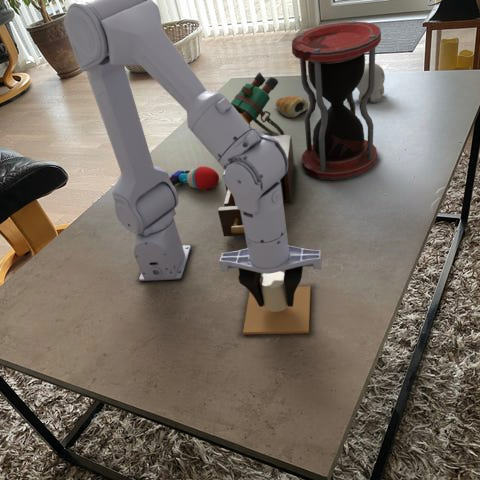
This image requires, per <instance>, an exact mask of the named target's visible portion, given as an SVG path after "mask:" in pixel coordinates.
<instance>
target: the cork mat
mask: <svg viewBox="0 0 480 480" xmlns="http://www.w3.org/2000/svg"><path fill="white" fill-rule="evenodd" d="M311 290H312V289H311V286H310V285H305V286H297V288H296V291H295V294H294V302H293V306H292V307H287V308H286V309H284V310H282V311H279V312H272V311H269V310H267V309H266V308H265V306H263V307H259V305H258V303H257V301H256V299H255V298H254V296H253V295H252V294H251V292H250V291H249V294H248V301H247V306H246V310H245V311H246V313H245V317H244V325H243V330H242V334H243V335H283V334H284V335H289V334H310V316H311V315H310V314H311Z"/></svg>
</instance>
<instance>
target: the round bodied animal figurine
mask: <svg viewBox="0 0 480 480" xmlns="http://www.w3.org/2000/svg"><path fill="white" fill-rule="evenodd" d="M385 79H386V75H385V71H384V69H383V67H382V66H381V65H379V64H378V63H375V83H374V90H373V92H372V94H371V96H370V97H369V98H368V100H367V102H369V100H370V102H371V103H378V102H380V101H381V98H382V96H383V95H384V94H385V86H384V84H385ZM368 85H369V62H368V63H365V69H364V75H363V77H362V79H361V81H360V83H359V84H358V86H357V87H356V88H355V89H357V90H358V92H359V94H358V97H357V98H358V102H359V103H360V102H361V98H362V96H363V95H364V94H365V93H366V91H367V89H368Z"/></svg>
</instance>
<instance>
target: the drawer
mask: <svg viewBox="0 0 480 480" xmlns="http://www.w3.org/2000/svg"><path fill="white" fill-rule="evenodd" d="M278 182H281V189H282V197H283V200H284V185H283V177H282V179H281V180H279V181H278ZM217 212H218V213H217V214H218V218H219V221H220V227H221V229H222V235H223V237H238V236H245V232H244V227H243V222H242V217H241V212H240V210H239V209H238V208H237V206H236V205H235V200H234V197H233V195H232V194H231V192H230V191H229V190H228V191H226V194H225V199H224V202H223V206H218V209H217Z"/></svg>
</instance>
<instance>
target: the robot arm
mask: <svg viewBox="0 0 480 480" xmlns="http://www.w3.org/2000/svg"><path fill="white" fill-rule="evenodd" d="M63 25H64V29H65V32H66V34H67V37H68V41H69V43H70V46H71V49H72V51H73V54H74V57H75V60H76V62H77V65H78V68H79V70H80V72H85V73H86V76H87V79H88V82H89V85H90V88H91V90H92V94H93V96H94V99H95V102H96V105H97V108H98V110H99V114H100V117H101V120H102V122H103V125H104V128H105V130H106V133H107V136H108V139H109V142H110V146H111V148H112V151H113V154H114V157H115V159H116V162H117V165H118V168H119V171H120V175H119V177H118V179H117V181H116V182H115V185H114V187H113V189H112V192H111V193H112V197H113V200H114V212H115V215H116V218H117V219H118V221H119V223H120V224H121V225H122V226H123V227H124V228H125V229H126V230H127V231H128V232H130V233H133V234H135V245H134V249H133V256H134V258H135V260H136V263H137V265H138V268H139V270H140V275H139V277H138V280H139V281H141V282H146V281H147V282H150V281H168V280H180V279H182V277H183V274H184V271H185V267H186V265H187V261H188V258H189V255H190V252H191V249H192V246H191V245H189V244H184V245H183V244H182V240H181V237H180V234H179V231H178V230H179V229H178V227H177V224H176V222H175V215H176V214H177V212H176V207H177V206H178V205H179V195H178V192H177V189H176V188H175V185H174V186H173V184H172V183H171V181H170V175H169V172H167V170H165V169H163V168H161V167H159V166H157V165H154V163H153V160H152V156H151V153H150V150H149V146H148V143H147V139H146V135H145V132H144V128H143V125H142V122H141V118H140V115H139V112H138V108H137V105H136V101H135V98H134V95H133V91H132V87H131V84H130V81H129V78H128V74H127V71H126V66H141V67H142V69H143V70H145V71H146V72H147V74H149V75H150V76H151V77H152V78H153V79H154V80H155V81H156V82H157V83H158V84H159V86H161V87H162V88H163V90H165V91H166V92H167V93H168V95H169V96H171V97H172V98H173V99H174V100H175V101H176V102H177V104H179V105H180V106H181V108H183V109H184V110H185V111H186V120H187V121H186V122H187V128H188V129H189V130H190V132H192V133H193V135H194V136H195V137H196V138H197V139H198V141H199V142H200V143H201V144H202V145H203V147H205V149H206V150H207V151H208V152H209V153H210V155H212V157H213V158H214V159H215V160H216V161H217V163H218V164H219V165H220V166H221V167H222V168H223V170H225V174H224V173H223V174H224V175H225V176H224V175H223V174H222V179H223V182H224V186H225V185H226V186H227V188H228V190H229V191H230V192H231V194H232V195H233V197H234V200H235V205H236V206H237V208H238V209H239V210H240V212H241V217H242V222H243V227H244V232H245V235H244V237H245V242H246V248H243V249H239V250H235V251H230V252H229V251H228V252H222V253H221V255H220V258H219V266H220V269H221V272H229V271H230V269H238V276H237V277H238V278H237V279H238V282H239V284H241V286H243V287H245V289H247V291H249V293H250V292H251V294H252V295H253V296H254V298H255V299H256V301H257V303H258V305H259V307H263V306H264V302H263V297H262V291H261V286H260V277H261V276H262V274H264V273H265V274H269V273H275V272H279V271H281V272H284V283H285V286H286V291H287V302H288V307H292V306H293V302H294V294H295V291H296V288H297V287H299V284H300V283H301V282H302V281H301V280H302V277H303V270H304V267H305V268H306V267H307V268H309V267H312V268H313V270H321V269H322V263H323V262H322V261H323V260H322V250H321V249H308V248H303V247H299V246H298V247H297V246H294V245H289V239H288V231H287V223H286V222H287V221H286V213H285V207H284V204H283V197H282V189H281V182H278V181H279V180H281V179H282V177H283V176H284V175H285V174H286V173H287V170H288V158H287V155H286V153H285V151H284V149H283V148H282V147H281V145H280V143H279V142H278V141H277V140H276V139H274V138H273V137H271V136H270V135H267V134H264V133H263V132H262V131H261V130H260V129H259V130H258V129H257V128H256V129H255V130H253V129H254V128H252V126H250V125H251V124H250V125H249V124H248V123H247V122H246V121H245V119H244V118H243V117H242V116H241V115H240V114H239V112H238V111H237V110H236V109H235V108H234V107H233V105H232V104H231V102H230V100H228V98H227V97H226V96H225V94H224V93H222V92H221V91H213V90H212V91H211V90H208V89H207V88H206V86H205V85H204V84H203V82H202V81H201V80H200V78H199V77H198V76H197V74H196V72H194V70H193V68H191V66H190V65H189V63H188V62H187V61H186V59H185V57H184V56H183V55H182V54H181V52H180V51H179V50H178V49H177V47H176V46H175V44H174V42H173V41H172V40H171V39H170V37H169V36H168V35H167V34H166V32H165V30H164V29H163V22H162V15H161V11H160V8H159V5H158V4H157V3H155V2H154V1H153V0H82V1H76V2H73V3H71V4H70V5H69V6H68V8H67V11H66V13H65V16H64V19H63ZM226 186H225V187H226Z"/></svg>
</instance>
